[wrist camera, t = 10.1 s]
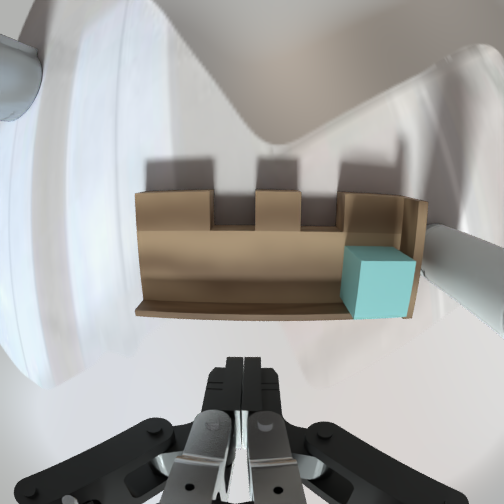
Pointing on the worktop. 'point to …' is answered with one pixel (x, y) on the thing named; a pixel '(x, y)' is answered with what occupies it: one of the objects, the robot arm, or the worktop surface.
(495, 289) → the travel mug
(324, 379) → the worktop surface
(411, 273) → the teal block
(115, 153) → the worktop surface
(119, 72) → the worktop surface
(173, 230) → the walnut tray
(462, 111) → the worktop surface
